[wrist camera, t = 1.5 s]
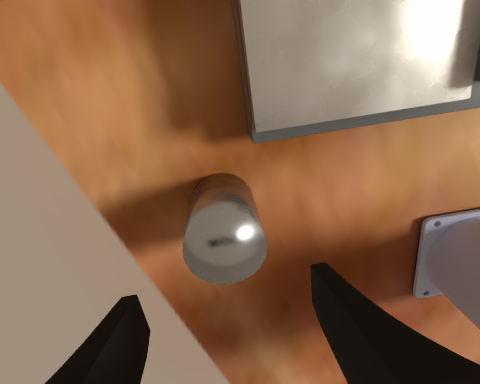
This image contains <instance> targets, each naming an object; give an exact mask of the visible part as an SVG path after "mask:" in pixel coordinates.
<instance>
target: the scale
mask: <svg viewBox="0 0 480 384" xmlns="http://www.w3.org/2000/svg"><path fill="white" fill-rule="evenodd" d="M232 7H233V15H234V23H235V31H236V38H237V46H238V54H239V61H240V69H241V77H242V85H243V92H244V100H245V108H246V115H247V123H248V131H249V136H250V138H251V139H252V141H253V143H254V144H255V143H261V142H268V141H274V140H280V139H286V138H293V137H299V136H305V135H311V134H317V133H324V132H330V131H336V130H342V129H348V128H355V127H361V126H367V125H373V124H380V123H386V122H392V121H398V120H404V119H411V118H417V117H423V116H429V115H436V114H442V113H448V112H454V111H460V110H467V109H473V108H479V107H480V44H479V50H478V56H477V61H476V67H475V73H474V78H473V84H472V89H471V95H470V98H469V99H463V100H457V101H451V102H444V103H438V104H432V105H426V106H419V107H413V108H407V109H401V110H394V111H388V112H382V113H376V114H369V115H363V116H357V117H351V118H344V119H338V120H332V121H326V122H319V123H313V124H307V125H301V126H294V127H288V128H282V129H276V130H269V131H263V132H257V133H256V132H255V130H254V129H253V120H252V112H251V104H250V96H249V88H248V80H247V71H246V63H245V55H244V47H243V39H242V30H241V22H240V14H239V6H238V0H232Z"/></svg>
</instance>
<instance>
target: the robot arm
mask: <svg viewBox="0 0 480 384" xmlns="http://www.w3.org/2000/svg"><path fill="white" fill-rule="evenodd" d="M436 222H437V223H436ZM435 223H436V224H435ZM311 283H312V302H313V305H314V308H315V311H316V314H317V317H318V320H319V323H320V326H321V328H322V330H323V332H324V334H325V336H326V339H327V341H328V343H329V345H330V347H331V349H332V351H333V353H334V355H335V358H336V360H337V362H338V364H339V366H340V368H341V370H342V372H343V374H344V376H345V379H346V381H347V383H348V384H480V365H479V364H477V363H475V362H473V361H471V360H469V359H466V358H464V357H462V356H460V355H458V354H456V353H454V352H452V351H450V350H449V349H447V348H445V347H443V346H441V345H439V344H438V343H436V342H434V341H432V340H430V339H428V338H427V337H425V336H423V335H421V334H420V333H418V332H416V331H415V330H413V329H411V328H410V327H408V326H407V325H405V324H403V323H402V322H400V321H399V320H397V319H396V318H394V317H393V316H391V315H390V314H388V313H387V312H386V311H384V310H383V309H381V308H380V307H379V306H377V305H376V304H375V303H373V302H372V301H371V300H369V299H368V298H367V297H366V296H364V295H363V294H362V293H361V292H359V291H358V290H357V289H356V288H354V287H353V286H352V285H351V284H350V283H348V282H347V281H346V280H345V279H344V278H343V277H341V276H340V275H339V274H338V273H337V272H336V271H335V270H334V269H332V268H331V267H330V266H329V265H328V264H327V263H325V262H324V263H319V264H313V265H311ZM442 294H444V295H445V296H446V297H447V298H448V299H449V300H450V301H451V302H452V303H453V304H454V305H455V306H456V307H457V308H458V309H459V310H460V311H461V312H462V313H463V314H464V315H465V316H466V317H467V318H469V319H470V320H471V321H472V322H473V323H474V324H475V325H476V326H477V327H478V328H479V329H480V209H475V210H469V211H463V212H458V213H452V214H446V215H440V216H434V217H428V218H426V219H425V220H424V221H423V222H422V227H421V235H420V242H419V250H418V257H417V265H416V272H415V279H414V287H413V295H414V296H415V297H416V298H425V297H431V296H436V295H442ZM149 336H150V328H149V326H148V323H147V320H146V318H145V315H144V312H143V310H142V307H141V304H140V302H139V300H138V297H137V295H131V296H125V297H122V298H121V299H120V300H119V301H118V302H117V303H116V305H115V306H114V307H113V308H112V309H111V311H110V312H109V313H108V314H107V315H106V317H105V318H104V319H103V320H102V321H101V323H100V324H99V325H98V326H97V327H96V328H95V330H94V331H93V332H92V333H91V334H90V336H89V337H88V338H87V339H86V340H85V342H84V343H83V344H82V345H81V346H80V347H79V348H78V349H77V350H76V351H75V352H74V353H73V355H72V356H71V357H70V358H69V359H68V360H67V361H66V362H65V363H64V364H63V365H62V367H61V368H60V369H59V370H58V371H57V372H56V373H55V374H54V375H53V376H52V377H51V378H50V379H49V380H48V381H47V382H46V383H45V384H140V382H141V378H142V374H143V370H144V366H145V362H146V358H147V352H148V345H149Z"/></svg>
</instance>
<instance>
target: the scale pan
mask: <svg viewBox="0 0 480 384" xmlns="http://www.w3.org/2000/svg"><path fill="white" fill-rule="evenodd" d="M238 6H239V14H240V22H241V30H242V39H243V47H244V55H245V63H246V71H247V80H248V88H249V96H250V104H251V112H252V120H253V129H254V130H255V132H256V133H257V132H263V131H269V130H276V129H282V128H288V127H294V126H301V125H307V124H313V123H319V122H326V121H332V120H338V119H344V118H351V117H357V116H363V115H369V114H376V113H382V112H388V111H394V110H401V109H407V108H413V107H419V106H426V105H432V104H438V103H444V102H451V101H457V100H463V99H469V98H470V95H471V89H472V84H473V78H474V73H475V67H476V61H477V56H478V50H479V44H480V0H238Z"/></svg>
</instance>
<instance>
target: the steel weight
mask: <svg viewBox="0 0 480 384" xmlns="http://www.w3.org/2000/svg"><path fill="white" fill-rule="evenodd" d="M266 254H267V241H266V237H265V234H264V231H263V228H262V224H261V221H260V218H259V215H258V211H257V208H256V205H255V201H254V198H253V195H252V192H251V190H250V188H249V186H248V185H247V183H246V182H245V181H243V180H242V179H241V178H239V177H237V176H235V175H232V174H228V173H217V174H213V175H210V176H208V177H206V178H204V179H203V180H202V181H201V182H200V183H199V184H198V185H197V186H196V188H195V189H194V192H193V195H192V199H191V205H190V210H189V216H188V221H187V226H186V232H185V237H184V243H183V257H184V260H185V263H186V265H187V266H188V268H189V269H190V270H191V271H192V272H193V273H194V274H195V275H196V276H197V277H199V278H201V279H202V280H205V281H207V282H210V283H215V284H232V283H237V282H240V281H243V280H245V279H247V278H249V277H250V276H252V275H253V274H254V273H255V272H256V271H257V270H258V269H259V268H260V267H261V266H262V264H263V262H264V260H265V258H266Z"/></svg>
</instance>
